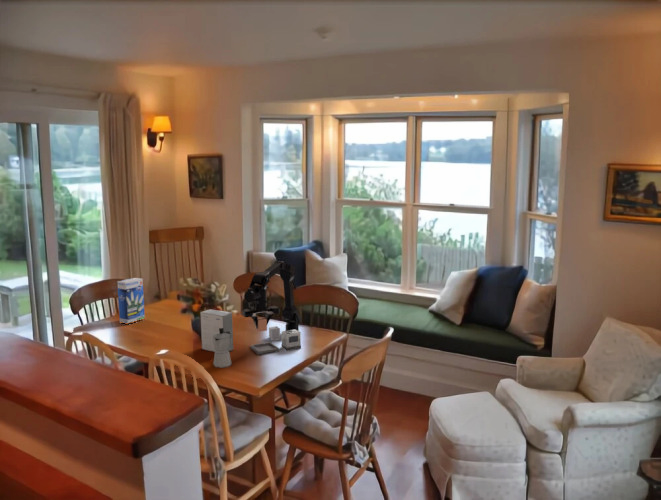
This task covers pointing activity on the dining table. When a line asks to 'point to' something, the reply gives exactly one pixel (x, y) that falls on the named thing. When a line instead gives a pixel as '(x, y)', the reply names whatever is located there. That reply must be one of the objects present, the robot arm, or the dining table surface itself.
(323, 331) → the dining table surface
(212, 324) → the hard drive box
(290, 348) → the mounted unit
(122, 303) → the string lights box
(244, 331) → the dining table surface
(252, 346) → the charcoal tray
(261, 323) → the terracotta block
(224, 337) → the coffee maker
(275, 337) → the grey block
